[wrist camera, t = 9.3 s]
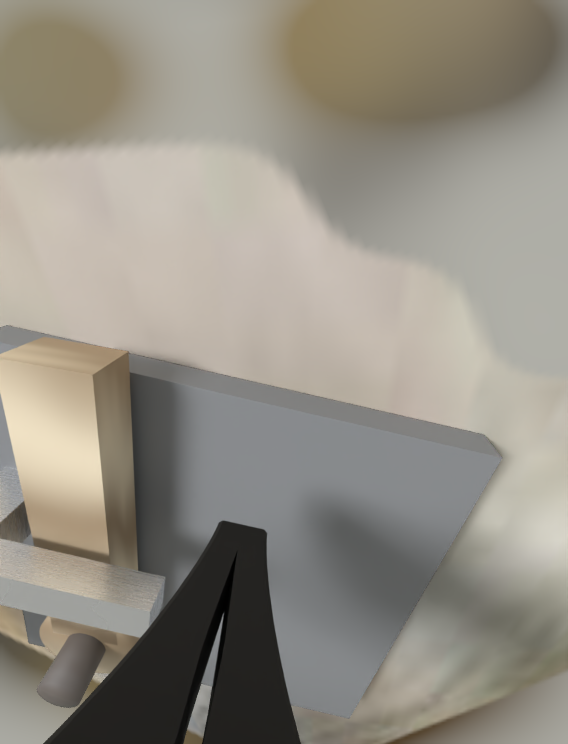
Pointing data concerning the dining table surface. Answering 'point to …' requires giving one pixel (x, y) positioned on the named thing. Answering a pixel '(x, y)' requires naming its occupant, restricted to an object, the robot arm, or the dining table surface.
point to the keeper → (69, 577)
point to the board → (294, 509)
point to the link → (74, 483)
